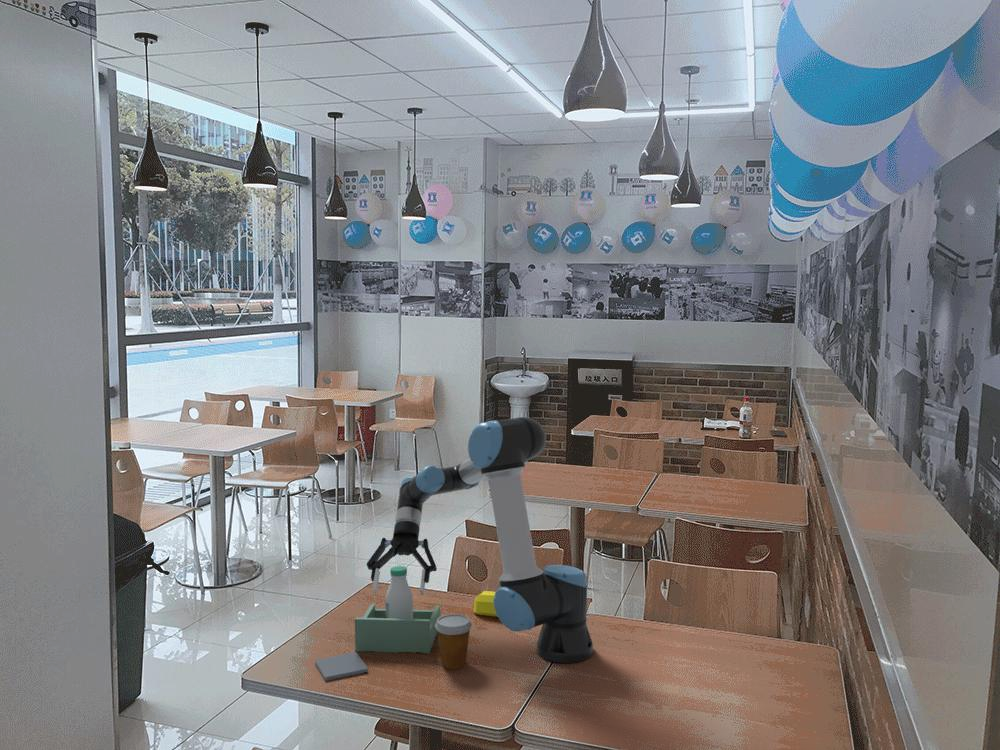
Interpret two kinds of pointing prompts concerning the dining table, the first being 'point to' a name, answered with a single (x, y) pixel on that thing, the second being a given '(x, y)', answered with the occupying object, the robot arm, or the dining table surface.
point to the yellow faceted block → (485, 604)
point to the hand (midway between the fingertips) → (398, 592)
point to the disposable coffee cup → (453, 639)
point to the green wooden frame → (396, 631)
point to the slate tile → (341, 666)
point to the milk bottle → (399, 595)
